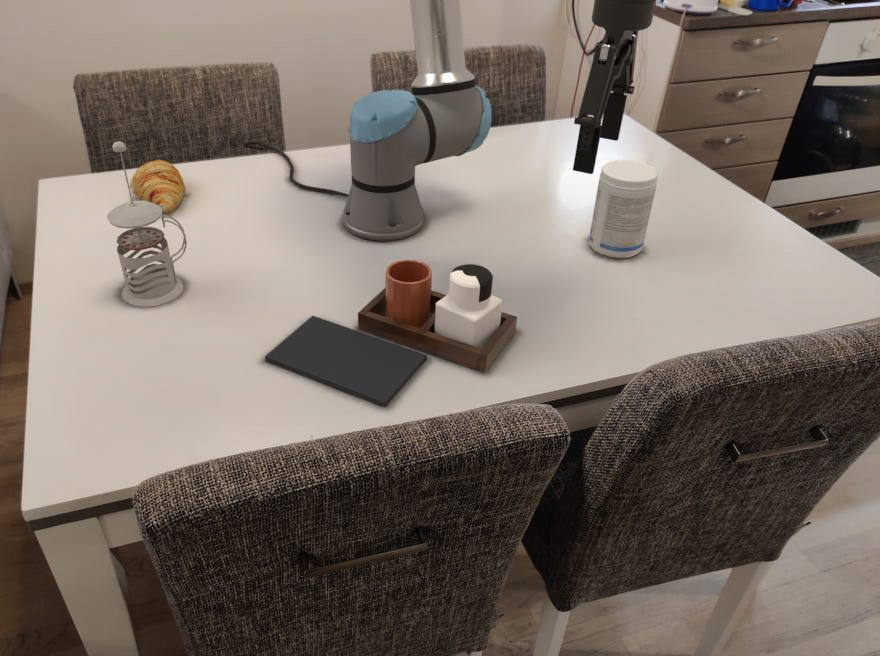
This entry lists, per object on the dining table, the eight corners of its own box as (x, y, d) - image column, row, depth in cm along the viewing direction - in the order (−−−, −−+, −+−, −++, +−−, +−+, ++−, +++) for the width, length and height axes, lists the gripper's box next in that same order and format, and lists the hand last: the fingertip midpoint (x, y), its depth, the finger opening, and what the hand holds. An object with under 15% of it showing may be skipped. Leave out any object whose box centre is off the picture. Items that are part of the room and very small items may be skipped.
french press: (119, 280, 121) (80, 133, 106) (190, 268, 124) (162, 124, 109) (123, 311, 114) (82, 159, 99) (198, 297, 117) (170, 148, 102)
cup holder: (358, 329, 111) (357, 312, 109) (394, 294, 118) (394, 278, 117) (485, 372, 103) (486, 356, 101) (515, 332, 110) (517, 316, 109)
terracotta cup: (377, 326, 111) (377, 275, 106) (399, 304, 116) (400, 255, 111) (416, 339, 109) (418, 288, 103) (437, 316, 114) (439, 267, 108)
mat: (265, 360, 104) (264, 356, 104) (313, 319, 113) (312, 315, 112) (385, 407, 97) (384, 402, 96) (426, 359, 105) (427, 354, 104)
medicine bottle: (460, 321, 113) (465, 253, 105) (499, 338, 109) (507, 269, 102) (432, 342, 108) (435, 273, 101) (472, 361, 105) (478, 291, 97)
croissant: (188, 230, 142) (201, 193, 139) (136, 217, 136) (149, 178, 133) (165, 186, 157) (177, 152, 154) (118, 172, 151) (129, 136, 148)
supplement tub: (652, 251, 131) (672, 173, 122) (615, 265, 126) (633, 186, 117) (612, 229, 137) (628, 154, 128) (576, 242, 133) (589, 166, 124)
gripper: (633, 16, 81) (598, 193, 94) (676, -23, 98) (642, 130, 111) (568, 8, 83) (543, 181, 97) (621, -29, 101) (594, 122, 114)
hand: (596, 154), depth 104 cm, fingers open, 13 cm apart
